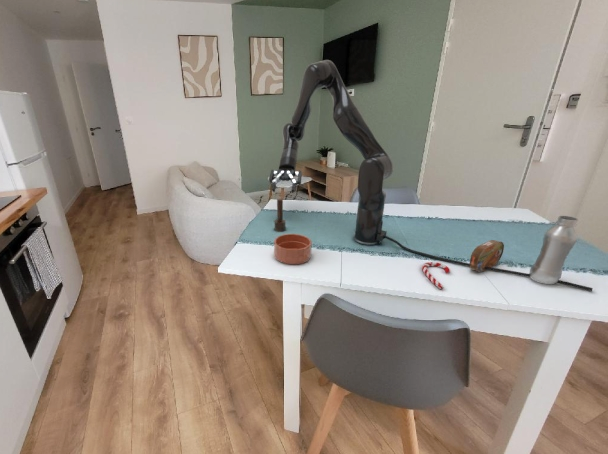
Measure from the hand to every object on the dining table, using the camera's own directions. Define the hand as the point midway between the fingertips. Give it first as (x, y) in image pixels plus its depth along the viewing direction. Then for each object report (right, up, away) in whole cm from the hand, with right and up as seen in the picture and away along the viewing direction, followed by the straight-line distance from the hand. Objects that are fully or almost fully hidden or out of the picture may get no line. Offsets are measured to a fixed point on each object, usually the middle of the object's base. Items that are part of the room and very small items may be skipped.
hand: (282, 191), depth 128 cm
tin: (+61, -29, -34) cm, 76 cm away
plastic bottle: (+72, -32, -42) cm, 89 cm away
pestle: (-1, -17, +1) cm, 17 cm away
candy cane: (+44, -31, -38) cm, 66 cm away
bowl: (+1, -26, -22) cm, 34 cm away
